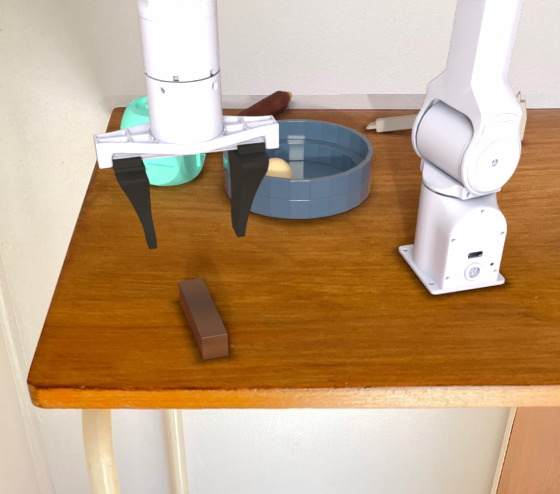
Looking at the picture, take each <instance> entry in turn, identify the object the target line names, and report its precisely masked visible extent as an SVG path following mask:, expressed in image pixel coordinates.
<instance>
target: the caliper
mask: <svg viewBox="0 0 560 494" xmlns="http://www.w3.org/2000/svg"><path fill="white" fill-rule="evenodd" d="M521 96H522V95H521V90H519V91H518V93H517V94H516V97H517V99H518V101H519V104H520V106H521V109H522V116H521V121H520V127H519V135H520V140H521V142H522V141H523V139H524V135H525V129H526V125H527V119H528V111H527V102H526V101H527V100H526V99H522V97H521ZM417 115H418V113H414V114H405V115H396V116H387V117H379V118H376V119H375V122H370V123H368V124H367V125H366V128H365V129H366V130H373V129H375V130H376V133H383V132H393V131H401V130H403V131H404V130H412V128H413V124H414V122H415V119H416V117H417Z"/></svg>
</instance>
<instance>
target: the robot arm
mask: <svg viewBox="0 0 560 494" xmlns="http://www.w3.org/2000/svg"><path fill="white" fill-rule="evenodd" d="M524 3H525V0H457V1H456V6H455V12H454V17H453V25H452V30H451V35H450V41H449V48H448V55H447V60H446V66H445V69H444V70H443V71H442V72H441V73H440V74H438V75H436V77H435V78H433V79H431V80H430V81H429V82H428V84H427V85H426V90H425V97H424V100H423V104H422V106H421V108H420V110H419V112H417V114H418V115H417V117H416V119H415V122H414V124H413V128H412V129H411V136H410V137H411V138H410V139H411V140H410V141H411V146H412V149H413V151H414V153H415V154H416V155H417V156H418V158H420V164H419V165H420V166H419V171H420V172H421V173H422V174H421V175H422V176H421V182H420V183H421V184H420V191H419V201H418V208H417V217H416V225H415V233H414V234H415V235H414V243H411V244H405V245H399V247H398V252H399V254H400V255H401V256H402V258H403V260H404V261H406V263H407V264H408V265H409V267H410V268H411V269H412V271H413V272H414V274H415V275H416V276H417V277H418V279H419V280H420V282H421V283H422V284H423V285H424V286H425V288H426V290H428V291H429V293H430V294H431V295H434V296H435V295H443V294H450V293H456V292H461V291H468V290H474V289H480V288H481V289H482V288H486V287H492V286H493V287H494V286H499V285H503V284H505V281H506V279H505V277H504V276H503V275H502V274H501V272H500V267H501V261H502V257H503V251H504V247H505V241H506V237H507V232H508V225H507V220H506V217H505V215H504V214H503V212H502V210H501V209H500V207H499V204H498V199H497V198H498V197H497V193H498V192H502V187H503V186H504V185H506V183H508V181H509V180H510V179H511V177H513V174H514V173H515V171H516V170H517V167H518V166H519V162H520V160H521V154H522V141H521V140H520V135H519V127H520V121H521V116H522V109H521V106H520V104H519V101H518V99H517V94H516V93H515V91H514V89H513V86H512V84H511V82H510V79H509V73H510V67H511V64H512V59H513V53H514V49H515V45H516V41H517V35H518V30H519V26H520V21H521V17H522V12H523V7H524ZM136 12H137V19H138V29H139V38H140V48H141V57H142V66H143V75H144V83H145V93H146V95H147V103H148V112H149V122H148V123H145V124H141V125H137V126H133V127H129V128H125V129H121V130H120V129H117V130H114V131H109V132H104V133H97V134H93V135H92V138H93V145H94V150H95V157H96V161H97V165H98V168H99V169H101V170H102V169H110V168H112V170H113V173H114V176H115V179H116V182H117V183H118V185H119V187H120V189H121V190H122V191H123V193H124V195H125V196H126V198H127V199H128V201H129V203H130V204H131V206H132V208H133V209H134V211H135V213H136V215H137V217H138V220H139V221H140V224H141V226H142V230H143V234H144V238H145V242H146V245H147V247H148V250H155V249H156V250H157V249H158V241H157V233H156V230H155V224H154V220H153V213H152V200H151V184H150V181H149V179H148V176H147V174H146V167H145V165H144V162H143V160H149V159H158V158H166V157H175V156H183V155H193V154H201V153H206V154H207V153H218V152H223V151H226V150H227V151H228V159H229V168H230V179H231V199H230V218H231V227H232V230H233V231H234V233H235V236H236V237H237V238H244V237H246V231H247V225H248V221H249V215H250V213H251V211H250V209H251V206H252V203H253V200H254V197H255V194H256V192H257V190H258V188H259V185H260V183H261V182H262V180H263V178H264V176H265V175H266V173H267V171H268V167H269V156H268V155H267V153H266V149H274V148H279V124H278V123H277V121H276V120H277V119H276V118H275V116H272V115H270V116H237V115H228V116H223V115H224V114H223V96H222V95H223V93H222V77H221V61H220V60H221V58H220V41H219V40H220V39H219V17H218V16H219V15H218V0H136Z"/></svg>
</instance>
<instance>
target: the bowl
mask: <svg viewBox="0 0 560 494" xmlns="http://www.w3.org/2000/svg"><path fill="white" fill-rule="evenodd" d="M275 120H276V121H277V123H278V124H279V148H274V149H266V153H267V155H268V156H269V159H270V158H280V159H282V160H284V161H286V162H287V163H288V164H289V166H290V168H291V170H292V176H293V178H292V179H290V178H281V177H272V176H267V175H265V176H264V178H263V180H262V182H261V183H260V185H259V188H258V190H257V192H256V194H255V197H254V200H253V203H252V206H251V209H250V213H254V214H257V215H261V216H266V217H269V218H270V217H271V218H277V219H279V218H280V219H286V220H308V219H309V220H310V219H317V218H318V219H319V218H326V217H332V216H336V215H338V214H342V213H345V212H348V211H350V210H352V209H354V208H357V207H358V206H360V205H361V204H362V203H363V202H364V201H365V200H366V199H368V198H369V195H370V193H371V190H372V181H373V167H374V155H375V151H374V146H373V143H372V142H371V140H370V139H369V138H368V137H367V136H366V135H364V134H363V133H361V132H359V131H358V130H357V129H354V128H352V127H349V126H346V125H343V124H340V123H336V122H331V121H325V120H317V119H307V118H293V119H292V118H291V119H290V118H288V119H285V118H284V119H278V120H277V119H275ZM222 159H223V161H222V162H223V163H222V164H223V179H224V180H223V182H224V191H225V193H226V194H227V196H228V198H229V199H230V200H231V179H230V168H229V159H228V151H227V150H226V151H222Z"/></svg>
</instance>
